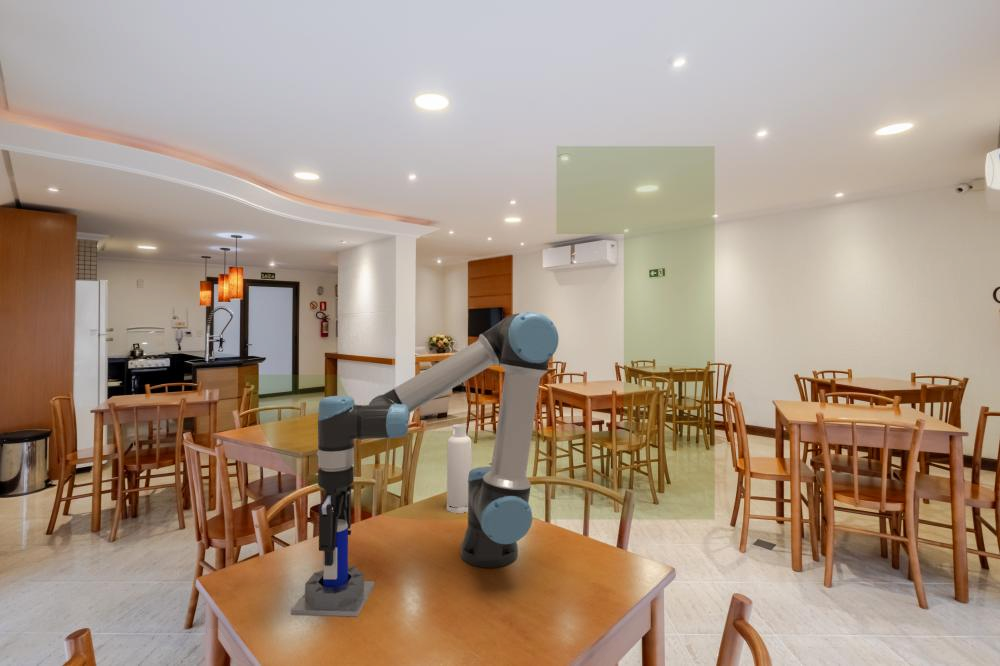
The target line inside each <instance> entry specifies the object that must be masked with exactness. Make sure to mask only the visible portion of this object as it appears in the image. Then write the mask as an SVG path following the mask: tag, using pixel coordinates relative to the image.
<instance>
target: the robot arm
mask: <svg viewBox="0 0 1000 666" xmlns="http://www.w3.org/2000/svg"><path fill="white" fill-rule="evenodd" d="M478 336H479V337H478V339H477V340H476V341H474V342H472V343H471V344H468V346H465V347H464V348H463V349H460V350H458V351H457V352H455V353H453V354H452V355H450V356H448V357H446V358H444V359H443V360H440V361H439V362H438V363H436V364H434V365H432V366H431V367H429V368H428V369H425V370H424V371H422V372H420V373H419V374H417V375H415V376H413V377H411V378H410V379H408V380H406V381H404V382H403V383H400V384H399V385H398V386H396V387H394V388H392V389H391V390H389V391H386V392H385V393H384V394H379V395H377V396H375V397H374V398H372V399H371V401H370V402H369V403H368V404H363V405H362V404H360V405H359V404H356V402H355V398H354V397H352V396H350V395H333V396H332V395H331V396H326V397H323V398H322V399H320V401H319V402H318V418H317V444H318V445H317V452H316V456H317V466H318V468H319V469H318V470H317V485H318V487H319V488H321V489H324V491H325V492H324V496H323V503H322V504H320V503H319V504H318V508H317V509H318V552H323V551H324V575H323V579H337V548H335V547H336V536H337V525H338V519H343V520H346V521H347V524H348V536H350V535H352V530H350V529H351V525H352V522H351V520H352V518H351V517H352V516H351V515H352V513H351V511H352V508H351V505H352V503H351V500H352V497H351V496H352V489H353V488H352V485H353V483H354V481H355V480H354V477H355V472H354V469H355V468H354V466H353V465H354V464H355V444H354V442H355V440H367V439H368V440H369V439H370V440H371V439H373V440H374V439H397V438H404V437H406V436H407V435H408V433H409V414H410V413H413V412H414V411H416V410H417V409H419V408H421V407H423V406H425V405H426V404H427V403H430V402H431V401H433V400H435V399H436V398H438V397H440V396H442V395H443V394H445V393H447V392H448V391H450V390H451V389H454V388H456V387H457V386H459V385H460V384H462V383H464V382H467V380H469V379H471V378H472V377H474V376H476V375H478V374H480V373H481V372H483V371H485V370H486V369H488V368H489V367H492V366H496V367H498V366H500V367H501V368H502V369H503V371H504V377H503V378H504V379H503V384H502V385H503V386H502V391H501V399H500V405H499V412H498V416H497V417H498V418H497V425H496V431H495V438H494V445H493V451H492V459H491V464H490V466H480V467H475V468H471V471H470V472H469V476H468V506H467V507H468V512H467V526H466V531H465V533H464V537H463V539H462V541H461V546H460V549H461V550H460V556H461V558H462V560H463V561H464V562H465V563H467V564H469V565H471V566H475V567H478V568H479V567H480V568H485V569H488V568H491V569H492V568H500V567H504V566H508V565H510V564H512V563H513V562H515V561H516V560H517V558H518V556H519V555H518V554H519V553H518V552H519V549H518V543H517V542H518V541H520V540H521V539H522V538H524V537H525V536H526V535H527V534H528V532H529V531H530V529H531V526H532V523H533V512H532V507H531V506H530V504H529V502H530V501H529V500H530V494H531V488H532V487H531V486H532V484H531V482H530V480H529V479H528V478H527V470H528V469H527V468H528V463H529V455H530V450H531V443H532V436H533V431H534V429H533V428H534V423H535V416H536V410H537V403H538V396H539V390H540V381H541V378H542V377H543V376H544V375H545V374H547V373H548V371H549V365H550V358H552V356H554V354H555V353H556V351H557V349H558V346H559V341H560V340H559V339H560V338H559V333H558V330H557V326H556V325H555V324H554V322H553V321H552V320H551V319H550V318H549V317H548V316H546V315H544V314H542V313H538V312H535V311H524V312H521V313H514V314H510V315H508V316H507V317H504V318H503V319H502V320H500V321H498V322H497V323H496V324H495V325H493V326H492V327H491V328H489V329H487V330H485V331H484V332H483V333H480V334H479V335H478Z"/></svg>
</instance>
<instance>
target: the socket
mask: <svg viewBox="0 0 1000 666" xmlns="http://www.w3.org/2000/svg"><path fill="white" fill-rule="evenodd" d="M374 587H375V581H373V580H372V581H371V580H370V581H368V580H367V581H366V580H365V574H364V573H363V572H362V571H360V570H359V569H358V568H356V567H355V566H348V583H346V584H343V585H340V586H338V587H323V569H322V570H319V571H316V572H314V573H313V574H312V575H311V576H310V578H309V579H308V580H307V581H306V583H305V584H304V593H303V595H302V596H300V598H299V599H298V601H296V603H295V604H294V606H293V607H292V608H291V609H290V615H292V616H293V615H294V616H329V617H330V616H331V617H332V616H333V617H358V616H359V614H360V612H361V610H362V609H363V608H364V605H365V603H366V602H367V600H368V597H369V596H370V595H371V592H372V591H373V589H374Z"/></svg>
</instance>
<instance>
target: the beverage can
mask: <svg viewBox="0 0 1000 666" xmlns="http://www.w3.org/2000/svg"><path fill="white" fill-rule="evenodd" d="M348 530H349V529H348V524H347V521H346V520H343V519H338V525H337V536H336V547H335V548H337V579H323V587H338V586H340V585H343V584H346V583H348V567H349V535H348ZM322 556H323V559H322V560H323V562H322V563H323V565H322V566H323V568H322V570H323V575H324V551H322Z"/></svg>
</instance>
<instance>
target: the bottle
mask: <svg viewBox="0 0 1000 666" xmlns="http://www.w3.org/2000/svg"><path fill="white" fill-rule="evenodd" d="M467 427H468V425H466V424H463V423H462V424H461V423H455V424H452V430H453V432H452V436H450V437H449V438H448V439H447V444H446V445H447V448H446V449H447V451H446V454H447V456H446V458H447V461H446V463H447V464H446V469H447V471H446V511H447V510H448V511H450V512H453V513H452V514H456V513H460V514H465V513H464V512H466V513H468V476H469V472H470V471H471V470H472V439H471V438H470V436H468V434H467ZM450 506H451V507H450ZM448 511H447V512H448ZM450 512H449V513H450Z"/></svg>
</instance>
